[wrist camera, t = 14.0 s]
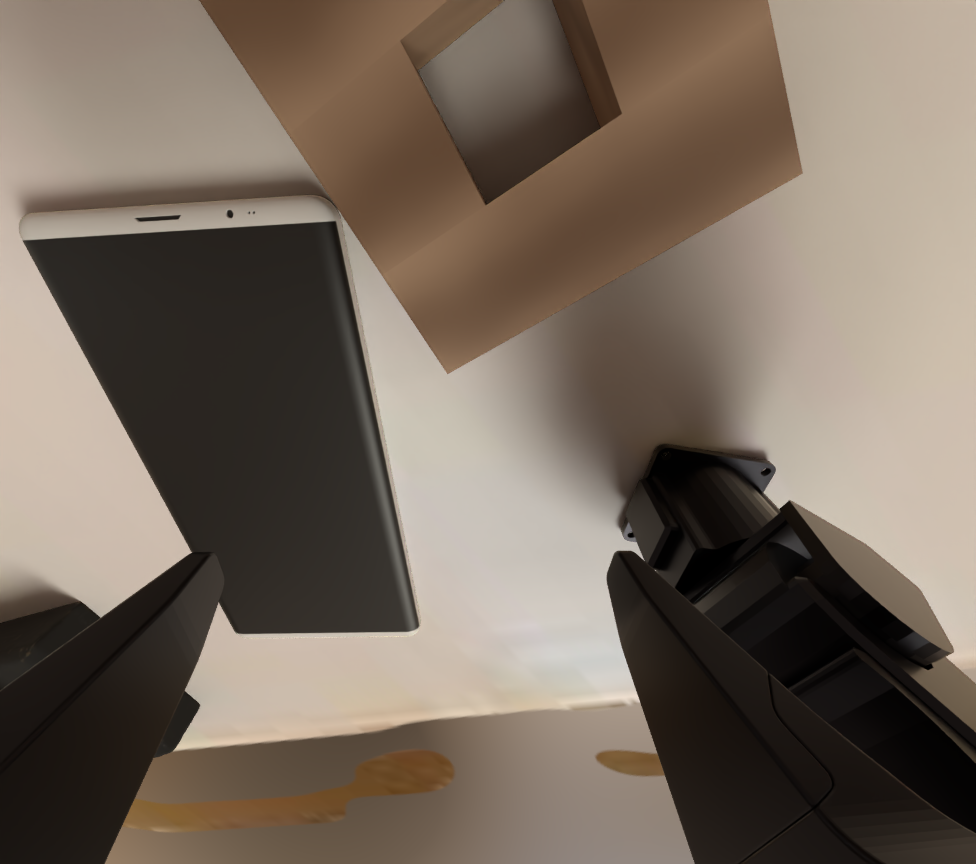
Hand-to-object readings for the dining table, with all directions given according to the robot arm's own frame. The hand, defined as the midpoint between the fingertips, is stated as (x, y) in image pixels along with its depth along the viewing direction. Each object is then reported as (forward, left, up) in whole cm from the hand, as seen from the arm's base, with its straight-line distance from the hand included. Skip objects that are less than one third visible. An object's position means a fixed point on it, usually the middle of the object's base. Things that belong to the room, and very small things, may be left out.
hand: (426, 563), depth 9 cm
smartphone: (+10, +8, -13) cm, 18 cm away
